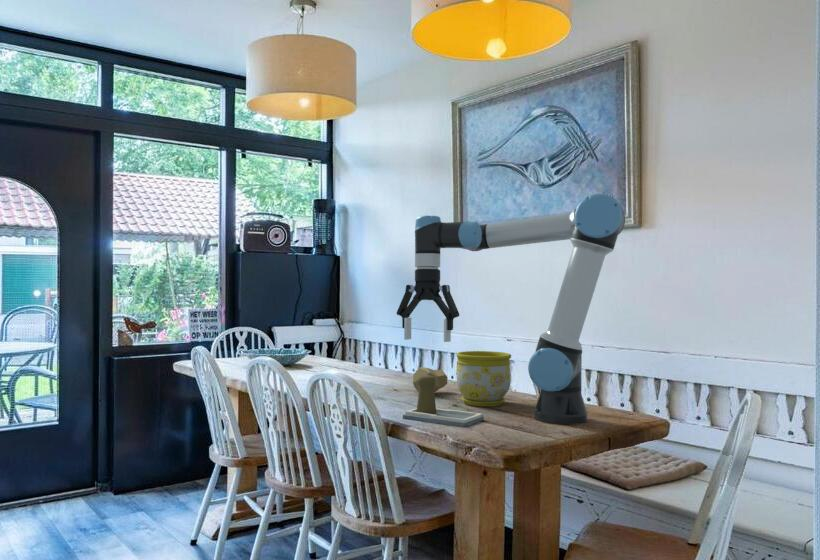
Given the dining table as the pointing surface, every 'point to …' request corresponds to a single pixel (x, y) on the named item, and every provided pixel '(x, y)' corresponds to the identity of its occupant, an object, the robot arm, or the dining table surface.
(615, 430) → the dining table surface
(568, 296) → the robot arm
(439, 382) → the low-poly potato
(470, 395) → the flowerpot
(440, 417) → the grey shallow tray
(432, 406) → the cork
